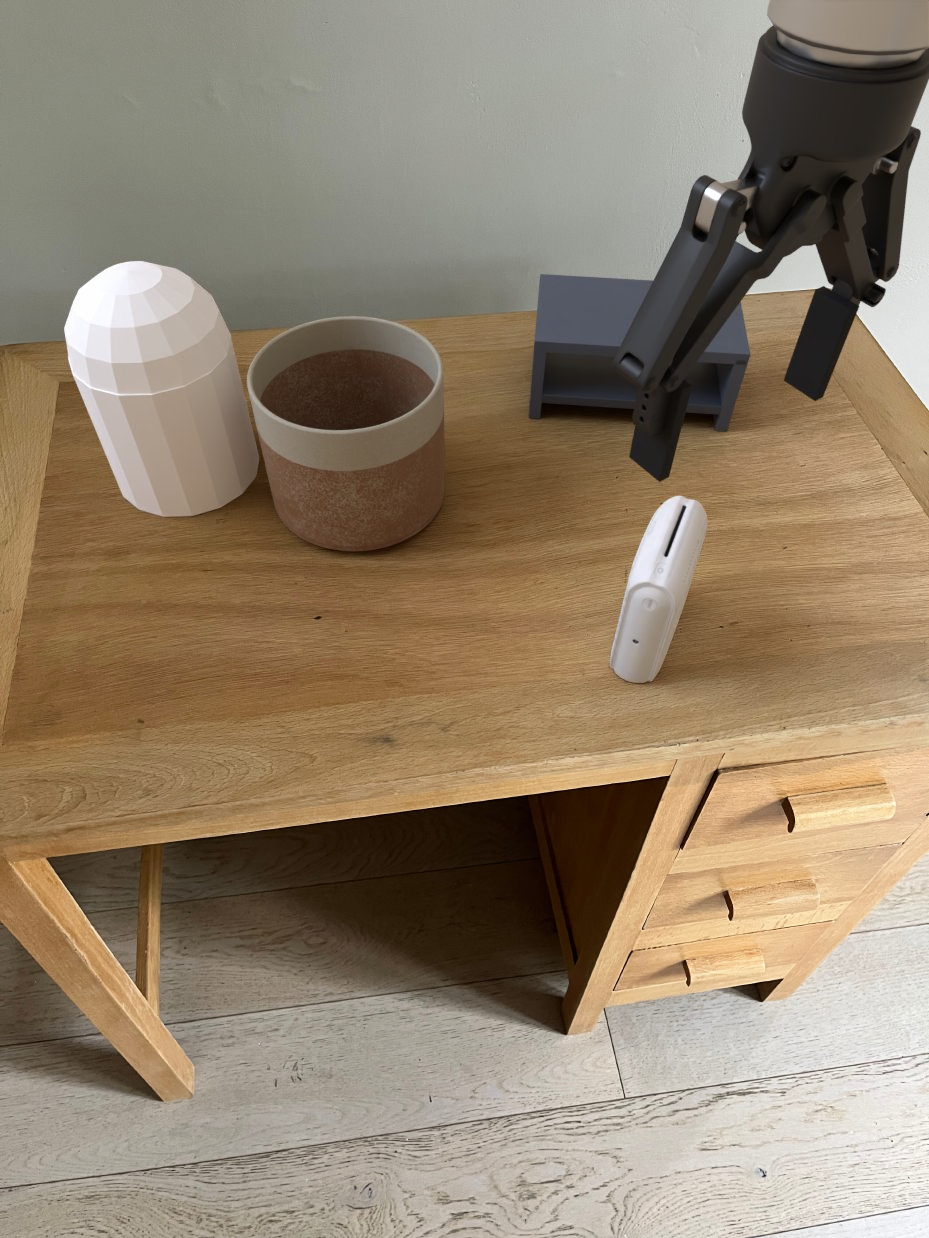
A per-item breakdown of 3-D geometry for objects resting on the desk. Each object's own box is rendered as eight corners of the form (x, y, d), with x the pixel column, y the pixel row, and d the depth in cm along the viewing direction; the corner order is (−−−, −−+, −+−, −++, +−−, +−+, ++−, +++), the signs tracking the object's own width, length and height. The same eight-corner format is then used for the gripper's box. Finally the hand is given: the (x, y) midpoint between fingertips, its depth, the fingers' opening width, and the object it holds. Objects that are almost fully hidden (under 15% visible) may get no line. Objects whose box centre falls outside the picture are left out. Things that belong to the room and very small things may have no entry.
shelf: (717, 361, 94) (737, 285, 87) (726, 431, 86) (750, 354, 79) (534, 350, 95) (540, 273, 88) (528, 418, 87) (534, 340, 80)
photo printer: (654, 693, 66) (688, 588, 57) (601, 674, 67) (625, 569, 58) (686, 599, 72) (722, 491, 63) (637, 584, 73) (664, 475, 64)
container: (118, 434, 85) (43, 239, 70) (254, 415, 87) (210, 221, 72) (116, 527, 77) (30, 330, 62) (266, 504, 79) (219, 308, 64)
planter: (266, 454, 84) (237, 329, 73) (424, 429, 86) (419, 304, 75) (286, 571, 74) (256, 447, 63) (463, 539, 77) (464, 414, 66)
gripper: (952, -35, 44) (816, 333, 60) (572, 68, 35) (535, 468, 51) (1091, 6, 40) (905, 387, 56) (704, 134, 31) (618, 543, 47)
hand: (729, 426), depth 54 cm, fingers open, 13 cm apart
